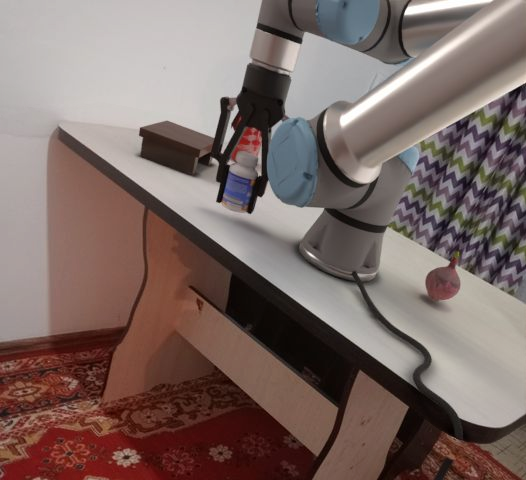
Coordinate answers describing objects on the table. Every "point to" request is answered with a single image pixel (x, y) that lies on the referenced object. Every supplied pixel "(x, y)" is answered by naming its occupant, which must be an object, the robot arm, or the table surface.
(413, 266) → the table surface
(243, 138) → the water bottle
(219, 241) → the table surface
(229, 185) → the pill bottle
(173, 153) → the stand
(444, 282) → the vegetable
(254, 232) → the table surface
